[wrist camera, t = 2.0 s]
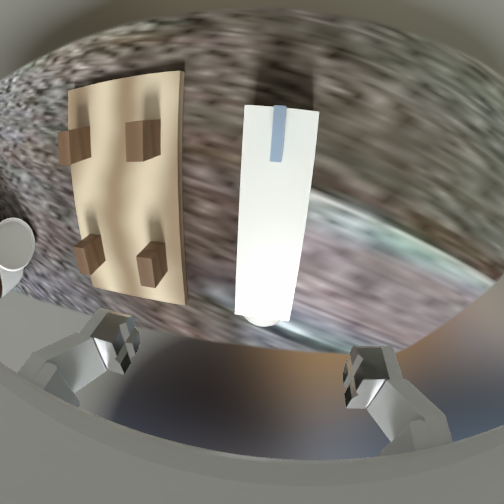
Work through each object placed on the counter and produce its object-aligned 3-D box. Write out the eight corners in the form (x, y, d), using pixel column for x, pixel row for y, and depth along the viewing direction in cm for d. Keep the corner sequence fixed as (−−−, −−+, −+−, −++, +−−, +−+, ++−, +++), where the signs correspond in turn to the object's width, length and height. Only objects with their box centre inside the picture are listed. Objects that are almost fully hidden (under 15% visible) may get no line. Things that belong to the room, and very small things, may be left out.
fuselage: (313, 112, 19) (324, 110, 12) (287, 307, 28) (283, 365, 21) (254, 107, 19) (235, 102, 13) (242, 302, 28) (227, 358, 21)
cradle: (184, 72, 18) (163, 65, 15) (188, 299, 29) (175, 324, 25) (74, 90, 19) (47, 92, 16) (97, 282, 30) (79, 301, 26)
